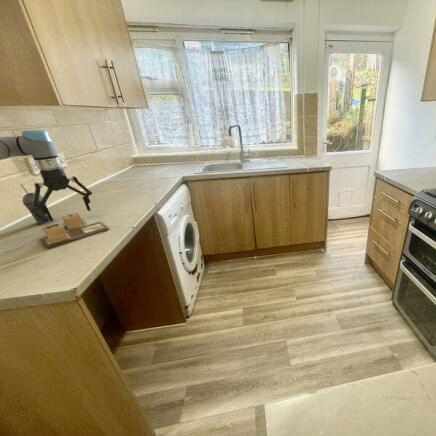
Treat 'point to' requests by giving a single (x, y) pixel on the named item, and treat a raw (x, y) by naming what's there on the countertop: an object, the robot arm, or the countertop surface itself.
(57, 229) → the tan toy block
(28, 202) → the beverage cup
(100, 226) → the word board
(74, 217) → the tan wooden cube
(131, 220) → the countertop surface
